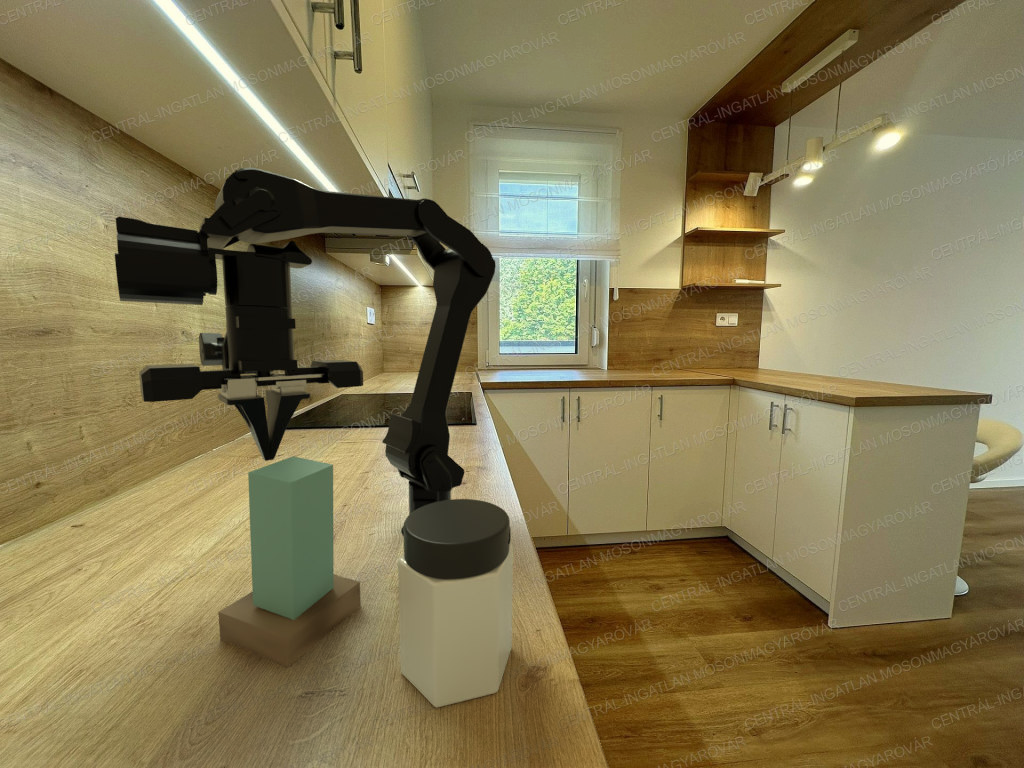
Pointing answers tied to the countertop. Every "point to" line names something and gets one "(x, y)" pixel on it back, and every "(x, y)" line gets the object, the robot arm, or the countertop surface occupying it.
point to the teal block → (291, 534)
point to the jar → (455, 599)
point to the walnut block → (288, 624)
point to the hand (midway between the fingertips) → (268, 459)
